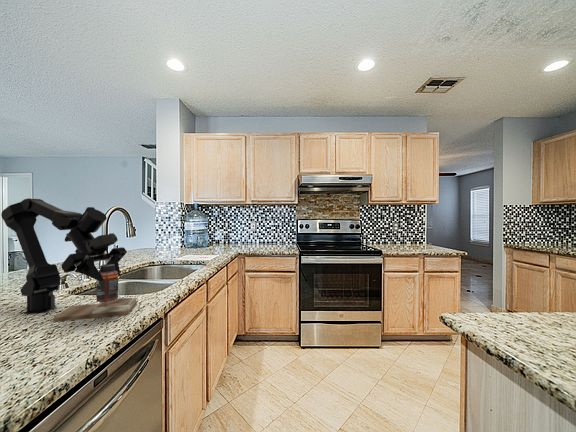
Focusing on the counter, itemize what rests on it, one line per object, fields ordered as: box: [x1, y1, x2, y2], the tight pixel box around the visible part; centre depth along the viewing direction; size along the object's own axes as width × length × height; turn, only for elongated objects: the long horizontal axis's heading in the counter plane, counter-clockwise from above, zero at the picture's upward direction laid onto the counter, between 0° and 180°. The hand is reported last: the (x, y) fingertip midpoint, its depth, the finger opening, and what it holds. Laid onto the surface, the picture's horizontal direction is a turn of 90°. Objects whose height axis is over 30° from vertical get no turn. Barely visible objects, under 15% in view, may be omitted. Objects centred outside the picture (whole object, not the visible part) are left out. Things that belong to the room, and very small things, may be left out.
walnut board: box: [52, 296, 138, 323], centre depth 96 cm, size 21×12×3 cm, turn 106°
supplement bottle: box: [95, 263, 119, 303], centre depth 89 cm, size 6×6×11 cm
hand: (110, 278), depth 88 cm, fingers closed on supplement bottle, 6 cm apart
